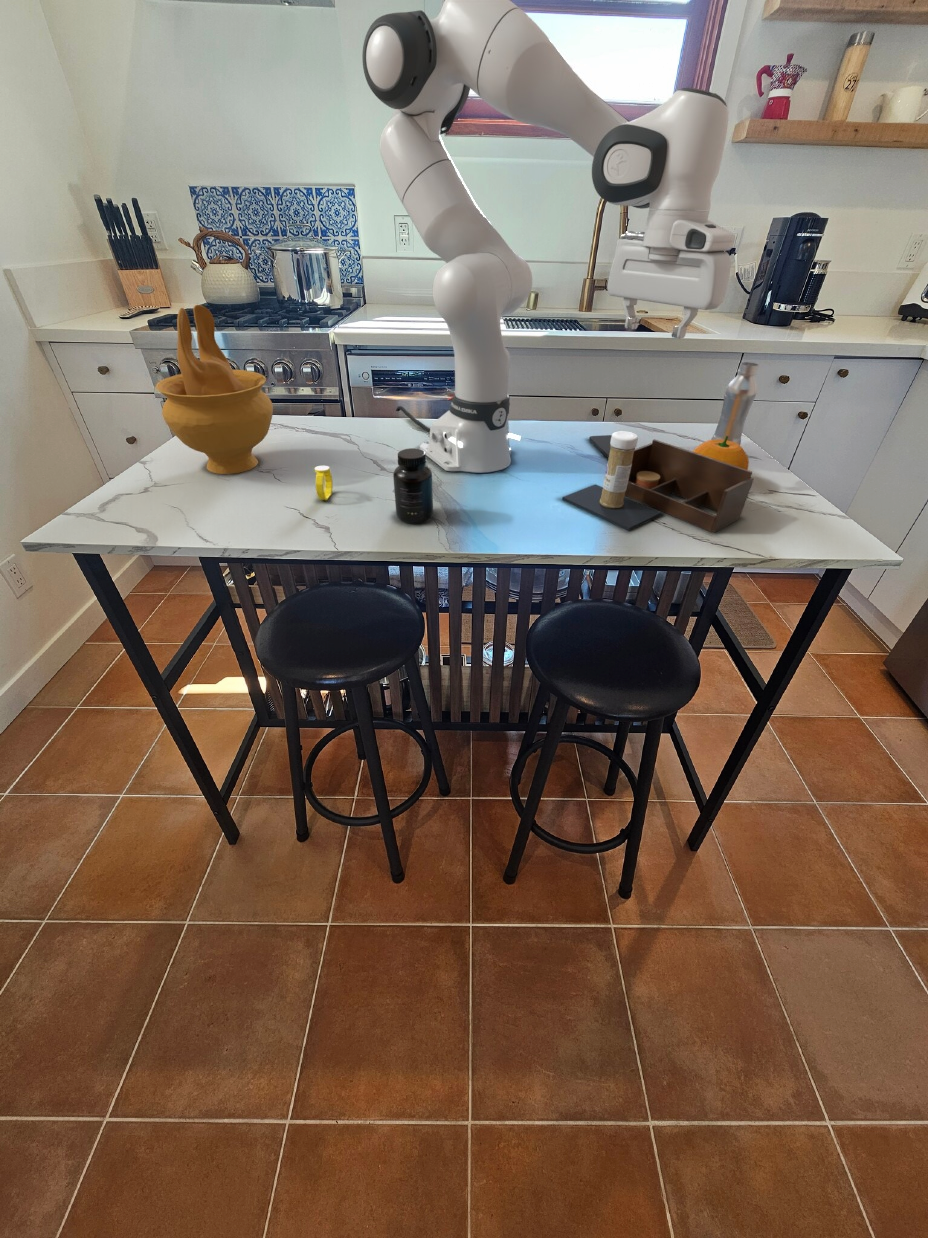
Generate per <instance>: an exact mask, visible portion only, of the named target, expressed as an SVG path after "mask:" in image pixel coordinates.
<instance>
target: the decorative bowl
mask: <svg viewBox="0 0 928 1238" xmlns="http://www.w3.org/2000/svg"><path fill="white" fill-rule="evenodd" d="M192 310H193V311H192V312H193V318H194V323H195V327H196V340H197V347H198V354H199V359H198V357H196V355H195V354H194V352H193V349H192V348H193V347H192V341H193V333H192V329H191V328H192V327H191V322H190V319H189V316H188V313H187V311H186V309H185V307H180V308H179V310H178V313H177V317H176V327H177V329H176V330H177V340H176V341H177V342H176V343H177V347H176V348H177V349H176V352H177V353H176V354H177V363H178V367H179V371H180V373H179V374H175V375H173V376H172V375H171V376H169V377H165V378H164V379H162V380H159V381H158V382H157V384H156V385H155V389H156V390H157V391H158V392H160V393H161V394H162V395H163V396H165V397H166V400H165V402H164V403H163V406H162V411H161V415H162V417H163V420H164V422H165V424H166V425H167V427H168V428H169V429H170V430H171V431H172V433H173V434H174V435H175V437H177V438H178V439H179V441H181V442H182V444H183V445H185V446H187V447H188V448H190V449H192V450H193V451H196V452H199V453H203V454H205V455H206V456H207V458H208V460H207V464H206V469H207V471H208V472H211V473H213V474H219V475H231V474H239V473H244V472H247V471H250V470H252V469H254V468H256V467H257V465H258V464H259V460H258V459H257V458H256V457H255V455H254V454H253V449H254V448H255V447H256V446H258V445H259V444H260V443H261V442H262V441H264V439H265V438H266V436H267V435H268V433H269V431H270V427H271V423H272V420H273V414H274V406H273V402H272V400H271V399H270V397H269V396H268V395H267V394H266V393H265V392H264V391H262V388H263V386H264V385H265V383H266V381H267V377H266V376H265V375H264V374H261V373H259V372H256V371H252V370H245V369H232V366H231V364H230V362H229V360H228V358H227V357H226V355H225V354H224V352H223V350H222V349H221V347H220V346H219V344H218V343H217V340H216V337H215V329H216V328H215V327H216V325H215V323H216V322H215V320H214V317H213V316H214V315H213V314H212V312H211V311H210V310H209V309H208V308H207V307H206V306H203V304H195V305H194V306H193V309H192Z"/></svg>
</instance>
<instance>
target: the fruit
mask: <svg viewBox="0 0 928 1238" xmlns="http://www.w3.org/2000/svg"><path fill="white" fill-rule="evenodd" d="M728 437H729V436H726V438H725V440H720V439H715V440H711V439H708V440H706V441H704V442H702V443H701V444H699V445H698V446H696V447H695V448H694V449H693V450H692V452H694V453H698V454H701V455H704V456H707V457H710V458H713V459H716V460H719V461H722V462H725V463H728V464H731V465H734V466H737V467H740V468H743V469H746V470H749V463H750V460H749V457H748V455H747V452H746V451H745V449H744V448H743V447H742V446H741V444H740V445H739V444H737V443H734V442H732V441H728V440H727V439H728Z"/></svg>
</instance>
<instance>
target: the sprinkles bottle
mask: <svg viewBox="0 0 928 1238" xmlns="http://www.w3.org/2000/svg"><path fill="white" fill-rule="evenodd" d="M611 435H612V437H611V442H610V444H611V445H610V446H611V449H610V454H609V459H608V458H607V459H608V460H607V463H606V469H605V474H604V479H603V483H602V487H603V490H602V495H601V499H600V504H601V505H602V506H604V507H607V508H620V507H622V506H623V504H624V502H623V500H624V497H626V496H625V491H626V489H627V484H628V480H629V475H630V470H631V466H632V459H633V454H634V450H635V449H636V448H637V445H638V439H639V436H638V435H637V434H636V433H634V432H631V431H626V430H619V431H614V432H613V433H612V434H611Z"/></svg>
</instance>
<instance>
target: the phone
mask: <svg viewBox="0 0 928 1238" xmlns="http://www.w3.org/2000/svg"><path fill="white" fill-rule="evenodd" d="M611 437H612V434H605V435H604V434H603V435H589V439H588V441H589V442H591V443H592V444H593V446H595V447H596V448H597V450H599V451H600V452H601V453H602V454H603V455H604V456H605V457H606V458H607V459H609V454H610V449H611V446H610V445H611V444H610V442H611Z"/></svg>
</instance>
